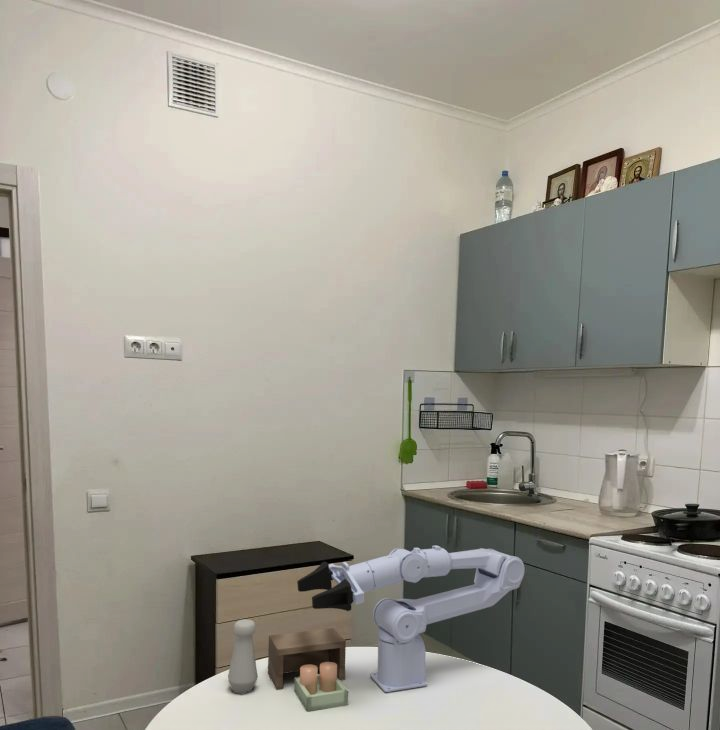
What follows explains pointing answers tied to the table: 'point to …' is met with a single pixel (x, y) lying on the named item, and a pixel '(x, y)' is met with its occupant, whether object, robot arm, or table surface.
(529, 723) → the table surface
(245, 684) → the salt shaker
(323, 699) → the tray
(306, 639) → the shelf
